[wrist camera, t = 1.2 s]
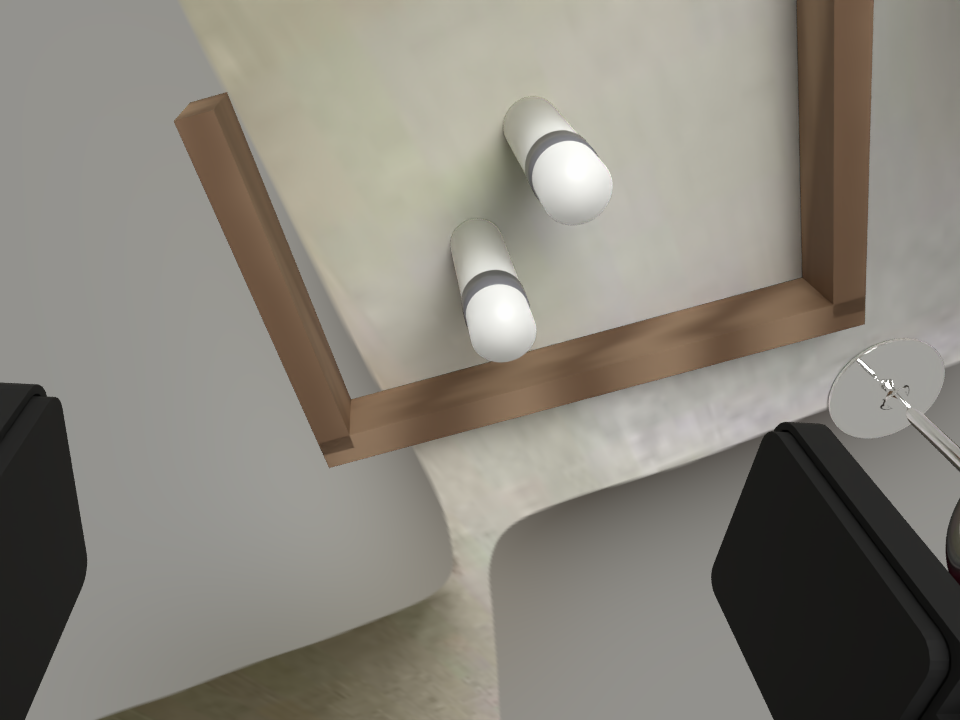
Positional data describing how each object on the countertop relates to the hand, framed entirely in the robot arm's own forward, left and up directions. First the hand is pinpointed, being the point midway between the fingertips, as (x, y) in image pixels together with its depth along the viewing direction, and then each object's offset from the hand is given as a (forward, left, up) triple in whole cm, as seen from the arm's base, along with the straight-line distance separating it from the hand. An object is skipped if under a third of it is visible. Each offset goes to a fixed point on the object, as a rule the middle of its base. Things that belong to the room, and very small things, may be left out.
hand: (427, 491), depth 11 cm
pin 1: (-2, +7, -25) cm, 26 cm away
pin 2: (-5, +3, -25) cm, 25 cm away
